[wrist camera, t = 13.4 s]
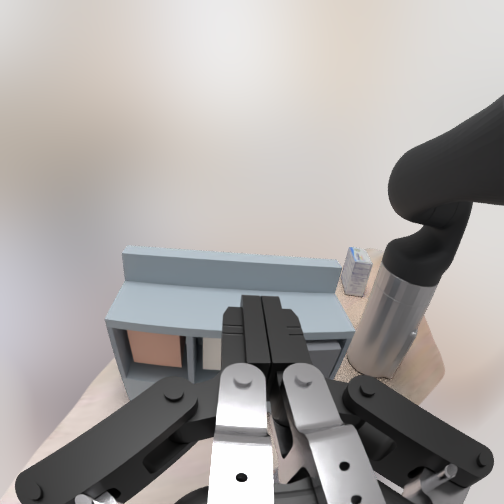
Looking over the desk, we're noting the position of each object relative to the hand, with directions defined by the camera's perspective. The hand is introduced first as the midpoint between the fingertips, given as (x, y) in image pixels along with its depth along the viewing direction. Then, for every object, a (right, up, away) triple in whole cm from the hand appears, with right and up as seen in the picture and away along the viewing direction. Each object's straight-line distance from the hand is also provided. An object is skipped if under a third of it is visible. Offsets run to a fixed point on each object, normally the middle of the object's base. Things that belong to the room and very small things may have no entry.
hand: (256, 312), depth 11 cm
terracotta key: (-11, -9, +19) cm, 24 cm away
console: (-4, -16, +23) cm, 29 cm away
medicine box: (+23, -6, +52) cm, 57 cm away
